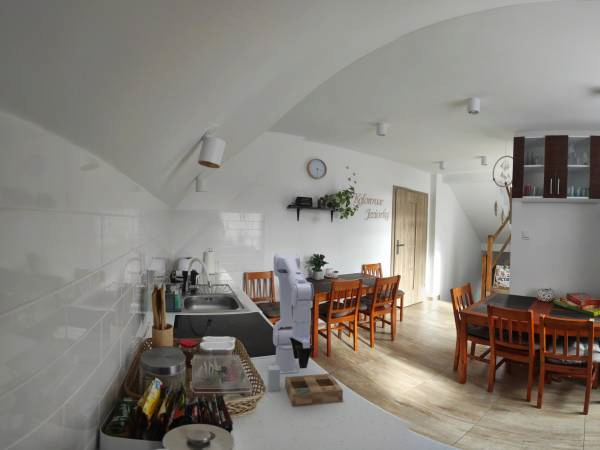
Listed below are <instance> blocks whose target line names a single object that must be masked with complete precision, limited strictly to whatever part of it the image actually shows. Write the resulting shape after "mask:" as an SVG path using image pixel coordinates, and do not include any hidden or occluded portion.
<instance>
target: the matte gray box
mask: <svg viewBox="0 0 600 450" xmlns="http://www.w3.org/2000/svg"><path fill="white" fill-rule="evenodd" d="M266 380H267V382H266V383H267V384H266V386H267V387H266V388H267V392H269V393H270V392H271V393H272V392H279V391H280V390H281V389H280V388H281V387H280V385H281V382H280V380H281V374H280V368H279V365H267V379H266Z"/></svg>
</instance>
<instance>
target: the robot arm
mask: <svg viewBox="0 0 600 450" xmlns="http://www.w3.org/2000/svg"><path fill="white" fill-rule="evenodd" d="M300 267H301V257H300V255H299V254H298V253H296V254H295V253H292V254H290V253H286V254H285V253H275V254H274V256H273V273H274V276H276V277H277V279H278V283H279V284H278V285H279V290H278V291H279V316H280V317H279V321H277V322H275V323H274V325H273V330H272V343H273V345H274V346H275V362H273V365H279V368H280V375H282V374H293V373H294V374H296V373H298V372H299V371H298V368H297V367H296V360H298V365H299V369H307V368H308V365H309V360H310V356H311V354H312V352H313V351H314V345H311V341H310V340H311V308H312V301H314V295H315V292H314V291H315V289H314V285H313V283H312V282H309V281H307V278H306V276H305V274H304V273H303V271H301V270H300Z"/></svg>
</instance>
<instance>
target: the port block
mask: <svg viewBox="0 0 600 450" xmlns="http://www.w3.org/2000/svg"><path fill="white" fill-rule="evenodd" d="M284 377H285V378H284V387H285V388H284V389H285V392H286V393H287V396H288V398H289V401H290V403H291V406H292V407H299V406H311V405H318V404H322V405H323V404H329V403H340V402H343V399H344V398H343V397H344V395H343V393H344V391H343V388H342V387H341V386H340V384H339V383H338V382H337V380H336V379H335V378H334V377H333V374H331V373H323V374H321V373H320V374H309V375H296V376H284Z"/></svg>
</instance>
